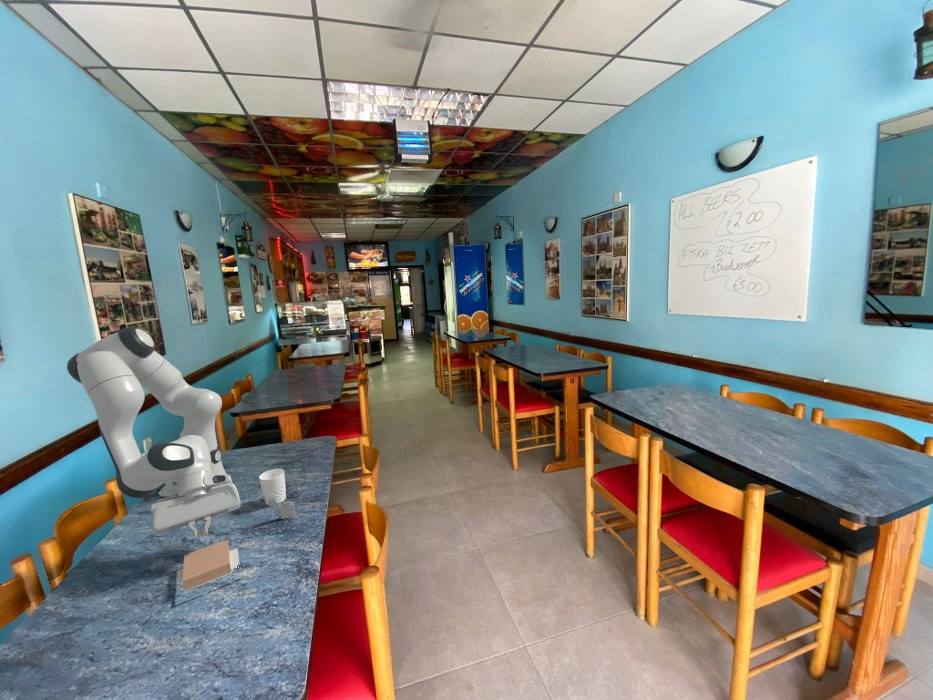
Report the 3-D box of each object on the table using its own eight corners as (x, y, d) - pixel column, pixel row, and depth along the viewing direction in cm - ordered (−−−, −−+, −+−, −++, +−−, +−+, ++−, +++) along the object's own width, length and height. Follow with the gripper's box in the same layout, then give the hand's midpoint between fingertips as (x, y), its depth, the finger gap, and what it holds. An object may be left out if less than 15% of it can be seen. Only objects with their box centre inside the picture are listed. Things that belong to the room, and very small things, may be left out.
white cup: (292, 494, 139) (288, 468, 137) (279, 506, 131) (275, 479, 129) (272, 494, 140) (267, 468, 138) (258, 506, 132) (253, 479, 130)
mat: (177, 572, 102) (177, 570, 102) (237, 549, 110) (237, 548, 110) (174, 607, 91) (173, 604, 91) (241, 579, 98) (241, 577, 98)
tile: (184, 554, 104) (182, 581, 94) (227, 539, 109) (229, 563, 99) (186, 564, 104) (184, 592, 94) (229, 548, 110) (231, 573, 100)
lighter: (295, 513, 126) (291, 491, 125) (295, 516, 125) (291, 493, 123) (271, 520, 123) (267, 497, 122) (271, 523, 122) (267, 500, 120)
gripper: (147, 497, 103) (150, 549, 96) (235, 473, 114) (243, 518, 108) (153, 505, 107) (156, 555, 101) (237, 481, 118) (244, 524, 112)
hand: (201, 535), depth 104 cm, fingers closed
